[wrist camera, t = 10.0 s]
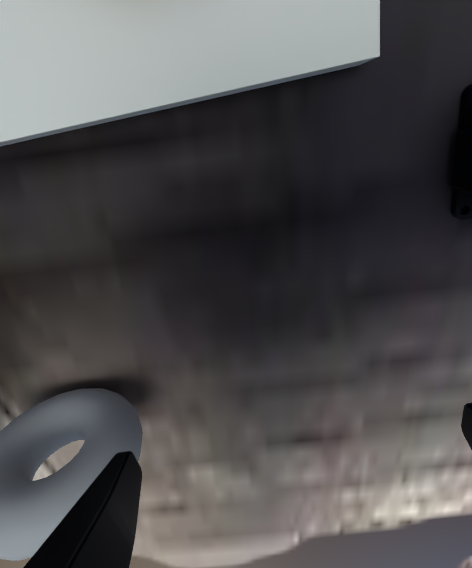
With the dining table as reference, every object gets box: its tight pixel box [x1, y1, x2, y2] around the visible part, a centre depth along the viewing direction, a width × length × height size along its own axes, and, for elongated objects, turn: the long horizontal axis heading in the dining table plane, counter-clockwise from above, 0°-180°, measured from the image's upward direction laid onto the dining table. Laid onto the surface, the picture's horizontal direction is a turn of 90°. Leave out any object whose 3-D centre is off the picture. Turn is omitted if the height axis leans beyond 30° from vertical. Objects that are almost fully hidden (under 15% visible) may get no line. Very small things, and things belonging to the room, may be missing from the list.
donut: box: [0, 388, 143, 561], centre depth 20 cm, size 10×4×10 cm, turn 100°
